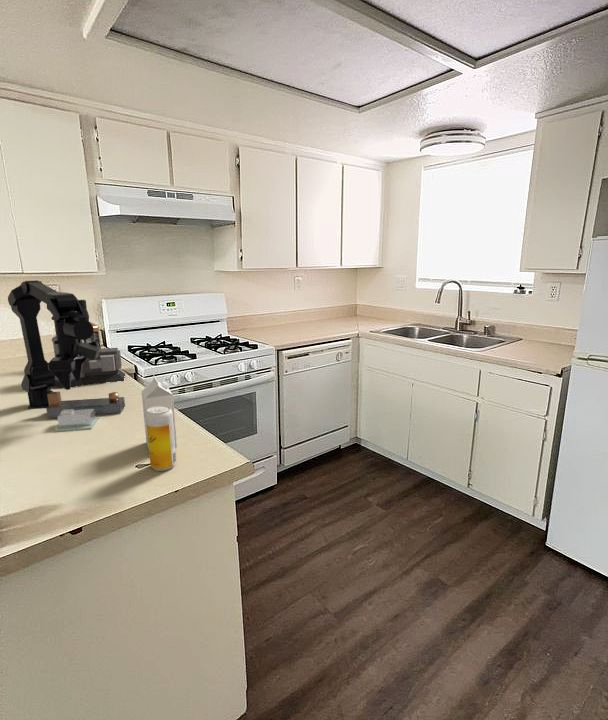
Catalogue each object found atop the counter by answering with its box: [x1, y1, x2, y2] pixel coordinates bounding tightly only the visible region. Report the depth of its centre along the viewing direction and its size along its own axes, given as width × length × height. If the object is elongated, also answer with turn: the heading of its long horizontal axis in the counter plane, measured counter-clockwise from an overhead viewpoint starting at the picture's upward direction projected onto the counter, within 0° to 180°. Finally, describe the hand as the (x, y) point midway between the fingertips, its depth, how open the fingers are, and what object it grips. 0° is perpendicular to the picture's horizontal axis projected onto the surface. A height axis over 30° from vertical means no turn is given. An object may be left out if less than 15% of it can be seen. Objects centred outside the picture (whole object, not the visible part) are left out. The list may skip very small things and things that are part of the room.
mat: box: [54, 416, 100, 433], centre depth 127 cm, size 10×9×1 cm
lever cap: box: [57, 409, 97, 428], centre depth 127 cm, size 9×5×4 cm, turn 102°
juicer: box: [49, 335, 126, 389], centre depth 171 cm, size 30×16×24 cm, turn 111°
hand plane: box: [45, 391, 126, 419], centre depth 137 cm, size 22×7×8 cm, turn 102°
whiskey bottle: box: [78, 299, 102, 349], centre depth 191 cm, size 10×10×32 cm
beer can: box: [146, 405, 177, 472], centre depth 100 cm, size 6×6×15 cm
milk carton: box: [141, 375, 178, 449], centre depth 112 cm, size 7×7×19 cm
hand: (73, 384), depth 128 cm, fingers open, 9 cm apart
